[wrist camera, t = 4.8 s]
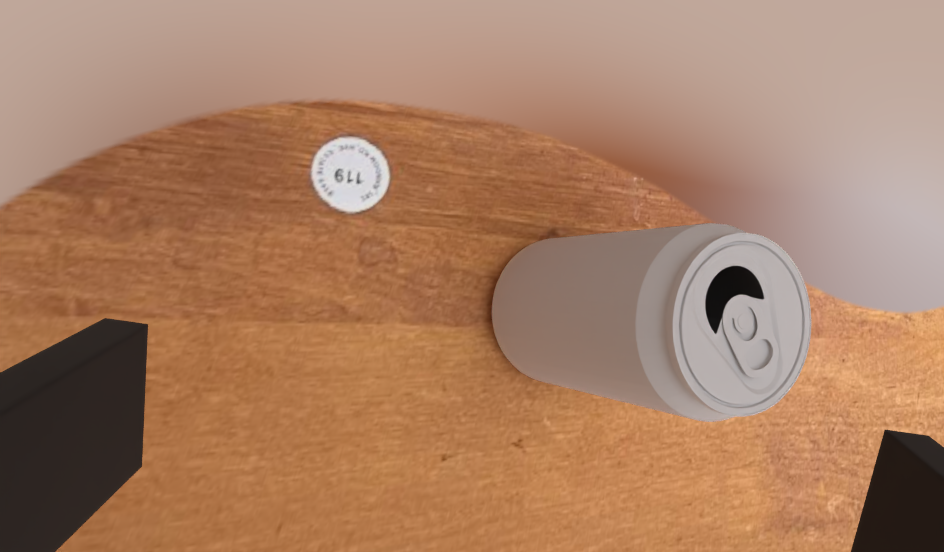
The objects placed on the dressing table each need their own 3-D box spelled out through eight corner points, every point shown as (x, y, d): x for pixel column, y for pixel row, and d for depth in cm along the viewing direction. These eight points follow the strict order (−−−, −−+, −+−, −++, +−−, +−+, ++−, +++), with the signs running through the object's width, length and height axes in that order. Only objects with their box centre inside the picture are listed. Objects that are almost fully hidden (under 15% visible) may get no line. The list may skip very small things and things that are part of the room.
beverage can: (572, 215, 34) (779, 184, 23) (626, 337, 35) (847, 361, 24) (459, 280, 32) (632, 279, 21) (521, 408, 33) (715, 471, 22)
